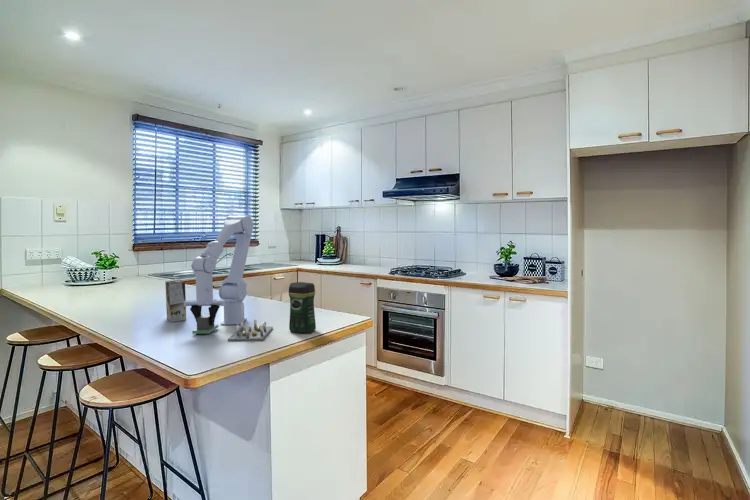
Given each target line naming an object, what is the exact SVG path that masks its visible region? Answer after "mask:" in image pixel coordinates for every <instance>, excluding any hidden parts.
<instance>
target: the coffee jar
mask: <svg viewBox="0 0 750 500" xmlns="http://www.w3.org/2000/svg"><path fill="white" fill-rule="evenodd" d="M315 295H316V288H315V284H314V283H312V282H303V281H297V282H291V283H289V287H288V297H289V303H290V304H289V305H290V306H289V307H290V308H289V322H288V323H289V324H288V325H289V328H288V330H289V331H290V332H292V333H295V334H296V333H297V334H307V333H309V334H311V333H313V332H315V331H316V328H317V325H316V317H315V316H316V315H315V305H314V303H315V301H314V300H315Z"/></svg>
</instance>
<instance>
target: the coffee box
mask: <svg viewBox="0 0 750 500" xmlns="http://www.w3.org/2000/svg"><path fill="white" fill-rule="evenodd" d="M165 300H166V301H165V303H166V304H165V305H166V319H167V320H168V321H169V322H170V323H173V322H175V323H176V322H181V321H186V320H187V306H184V301H186V282H185V281H183V280H181V279H180V280H179V279H176V280H166V281H165Z"/></svg>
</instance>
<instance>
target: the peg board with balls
mask: <svg viewBox="0 0 750 500" xmlns="http://www.w3.org/2000/svg"><path fill="white" fill-rule="evenodd" d="M257 325H258V324H257V319H253V326H244V322H240V324H237V325H236V327H235V329H236V330H235V332H234V333H233V334H231V336H229V337H228V338H227V341H228V342H261V341H262V342H263V341H265V339H266V338H267V337H268V336H269V334H270V333H271V331H272V330H273V328H274V326H267V321H263V322H262V324H259V325H258V326H257Z"/></svg>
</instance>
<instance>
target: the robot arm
mask: <svg viewBox="0 0 750 500" xmlns="http://www.w3.org/2000/svg"><path fill="white" fill-rule="evenodd" d="M254 225H255V224H254V222H253V220H252V217H251V216H249V215H228V216H227V217H225V220H223V227H222V229H220V232H219V234H218V235H217V237H216V238H215V240H214V241H210V242H208V243H207V245H206V247H205V249H204V250H203V251H202V252H201V254H200V255H199V256H197V257H195V258H194V259H193V260H192V264H191V265H190V266H191V270H192V272H193V275H194V277H195V292H196V295H195V296H196V298H195V299H192V300H191V299H190V300H186V301H184V306H186V307H190V308H189V310H190V311H191V313H192V314H193V315H192V316H193V317H194V319H195V321H196V323H197V317H199V316H200V315H202V307H208V314H210V326H212V325H214V324H215V319H216V316H217V314H218V311H219V309H220V308H221V307H223V321H222V322H221V323H220V325H221V326H222V325H231V326H234V325H236V326H237V325H240V322H243V323H244V322H245V321H246V320H247V319H248V317H245V303H244V302H243V301H245V299H246V296H247V285H248V284H247V282H246V281H245V280H244V279H243V277H244V272H245V267H246V263H247V260H248V259H247V258H248V253H249V248H250V243H251V239H252V234H253V229H254ZM231 237H234V238H235V240H236V242H235V247H234V250H233V251H234V252H233V254H232V259H231V264H230V269H229V273H228V276H227V277H225V279H223V280H222V283H221V286H220V287H219V289H218V296H219V298H220V299H214V287H213V281H214V280H213V271H215V270H216V267H217V262H218V259H219V258H220V256H222V255H221V254H222V253H223V252H224V250H225V249H224V245H225V244H226V243H227V242H228V241H229V239H230V238H231Z"/></svg>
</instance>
